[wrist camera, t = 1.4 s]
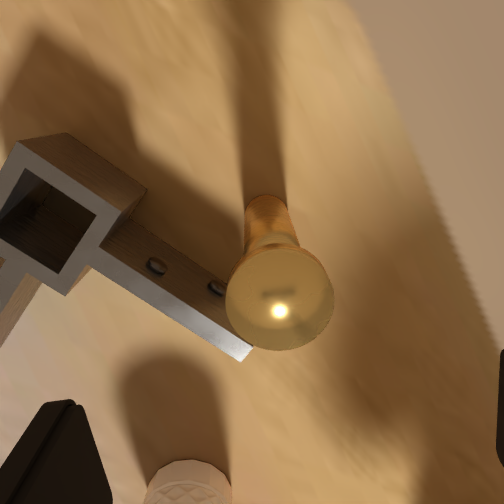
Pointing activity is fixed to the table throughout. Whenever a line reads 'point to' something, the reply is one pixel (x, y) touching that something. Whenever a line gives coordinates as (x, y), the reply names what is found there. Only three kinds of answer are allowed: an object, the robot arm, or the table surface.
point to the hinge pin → (276, 282)
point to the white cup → (188, 484)
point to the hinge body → (96, 242)
